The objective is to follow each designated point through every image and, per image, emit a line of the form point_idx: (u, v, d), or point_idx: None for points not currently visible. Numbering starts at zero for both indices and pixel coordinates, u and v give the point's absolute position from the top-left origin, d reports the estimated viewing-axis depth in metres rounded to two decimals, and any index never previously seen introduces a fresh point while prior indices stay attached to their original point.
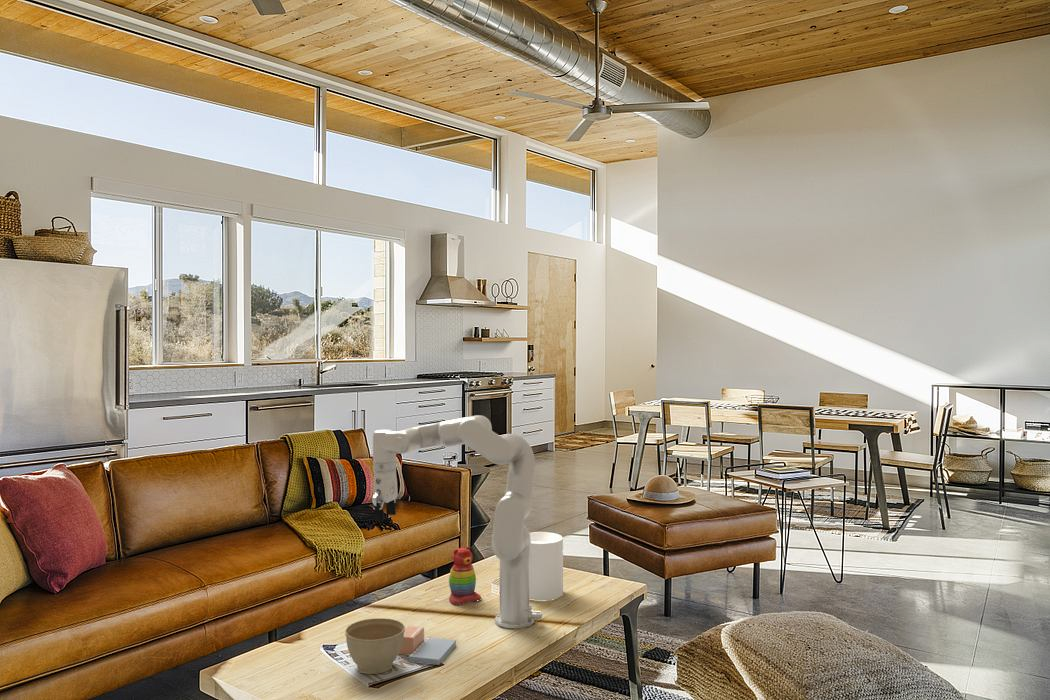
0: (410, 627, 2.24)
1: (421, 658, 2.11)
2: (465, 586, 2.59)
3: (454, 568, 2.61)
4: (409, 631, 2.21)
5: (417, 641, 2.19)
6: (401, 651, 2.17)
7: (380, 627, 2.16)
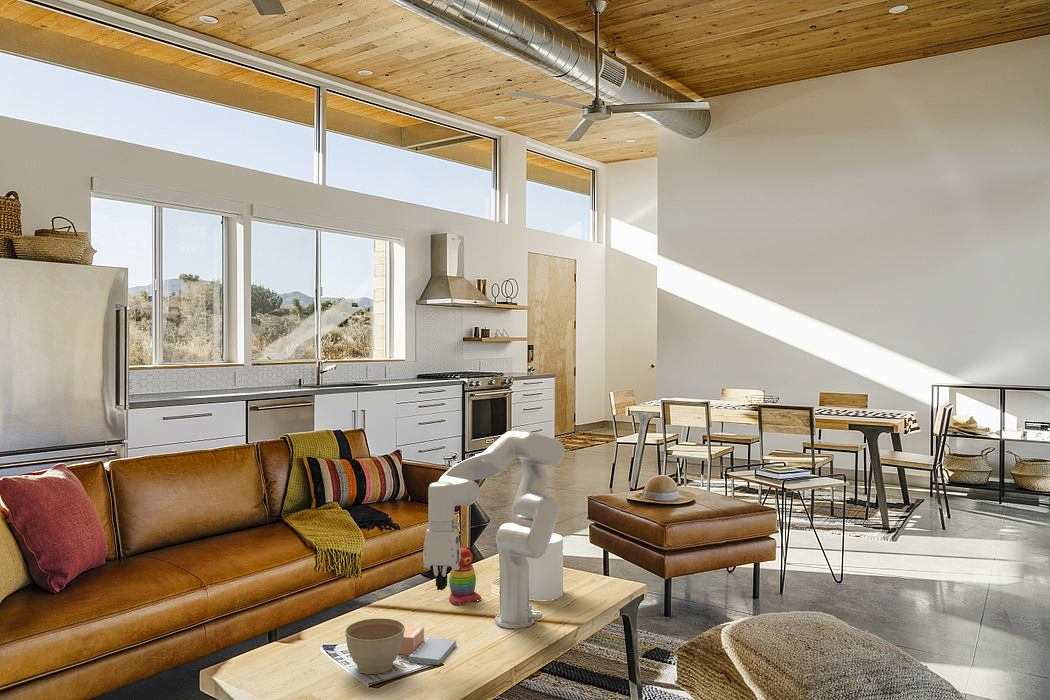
0: (410, 627, 2.24)
1: (421, 658, 2.11)
2: (465, 586, 2.59)
3: None
4: (409, 631, 2.21)
5: (417, 641, 2.19)
6: (401, 651, 2.17)
7: (380, 627, 2.16)
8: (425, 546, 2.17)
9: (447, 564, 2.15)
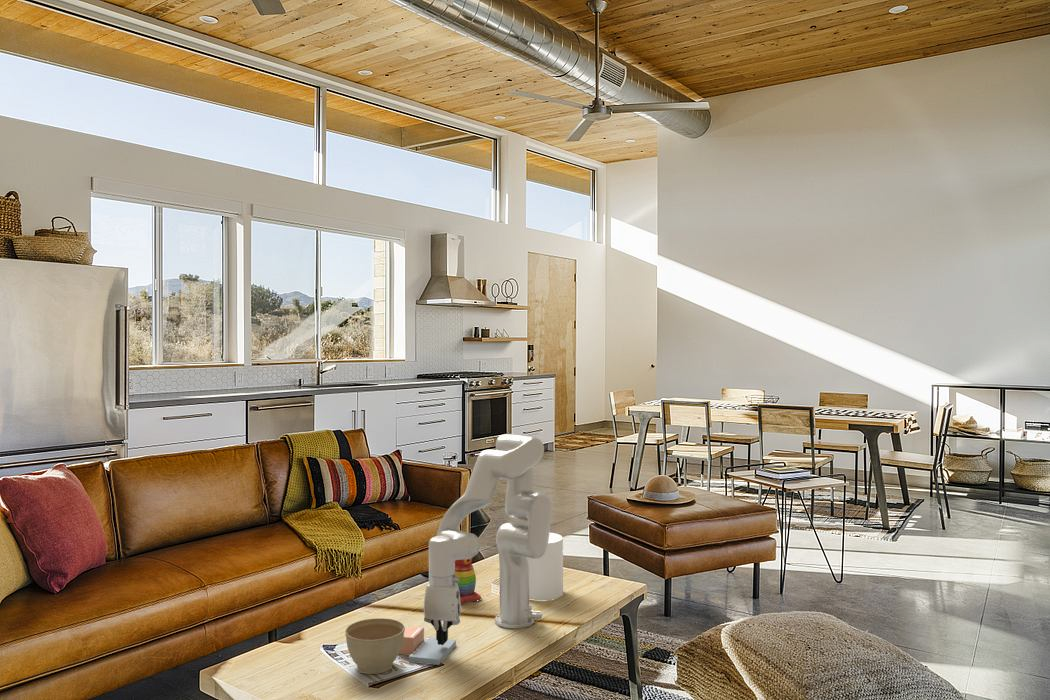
0: (410, 627, 2.24)
1: (421, 658, 2.11)
2: (465, 586, 2.59)
3: None
4: (409, 631, 2.21)
5: (417, 641, 2.19)
6: (401, 651, 2.17)
7: (380, 627, 2.16)
8: (425, 601, 2.17)
9: (447, 619, 2.15)
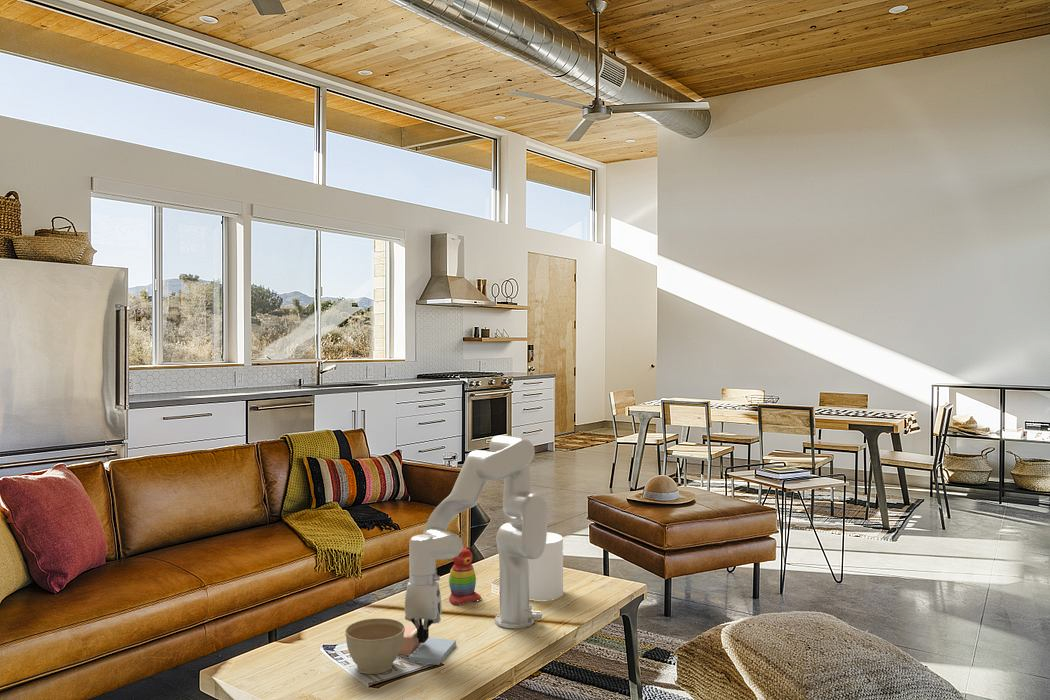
0: (408, 627, 2.24)
1: (421, 658, 2.11)
2: (465, 586, 2.59)
3: (454, 568, 2.61)
4: (406, 630, 2.21)
5: (415, 641, 2.19)
6: None
7: (380, 627, 2.16)
8: (406, 599, 2.18)
9: (428, 617, 2.17)
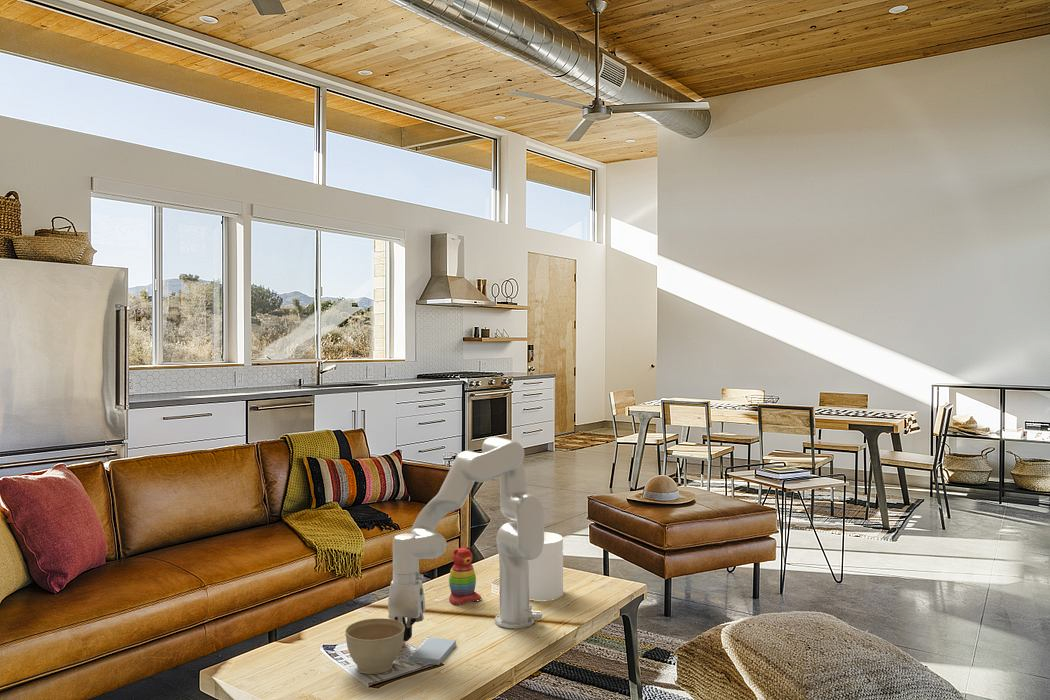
0: None
1: (421, 658, 2.11)
2: (465, 586, 2.59)
3: (454, 568, 2.61)
4: None
5: None
6: None
7: (380, 627, 2.16)
8: (390, 598, 2.20)
9: (411, 616, 2.18)
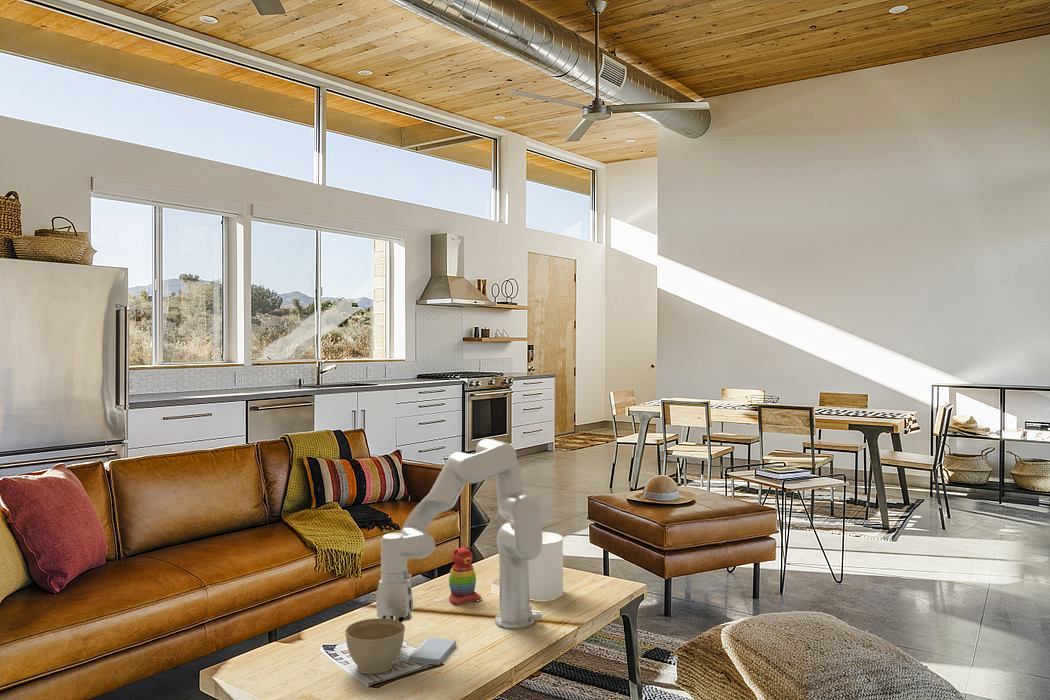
0: None
1: (421, 658, 2.11)
2: (465, 586, 2.59)
3: (454, 568, 2.61)
4: None
5: None
6: None
7: (380, 627, 2.16)
8: (378, 597, 2.21)
9: (399, 615, 2.19)
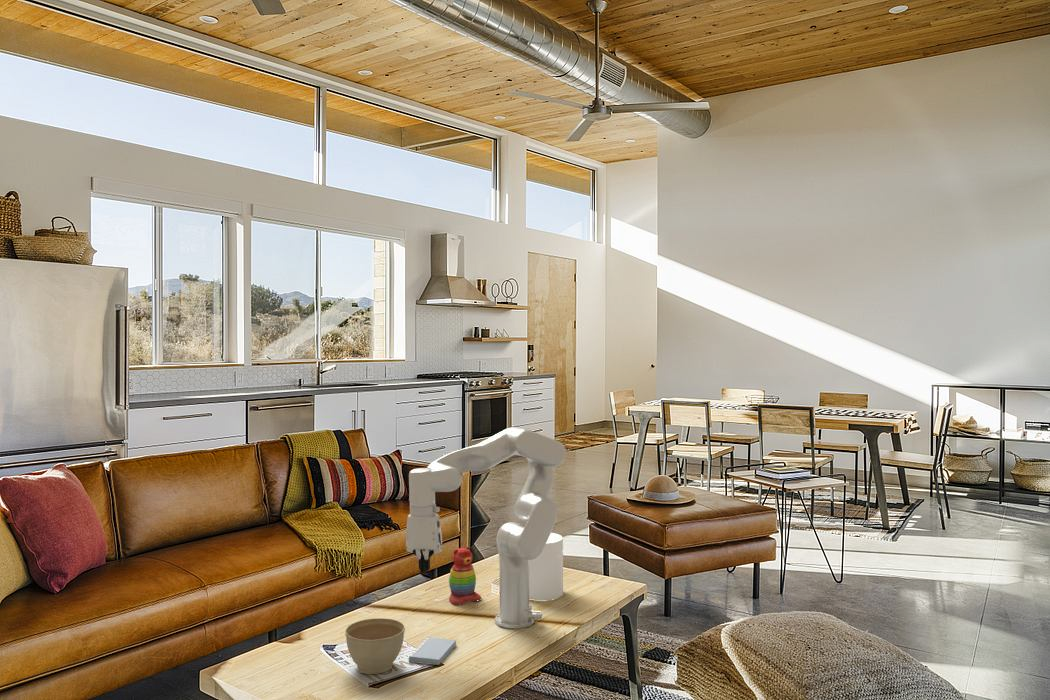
0: None
1: (421, 658, 2.11)
2: (465, 586, 2.59)
3: (454, 568, 2.61)
4: None
5: None
6: None
7: (380, 627, 2.16)
8: (407, 531, 2.23)
9: (429, 548, 2.22)
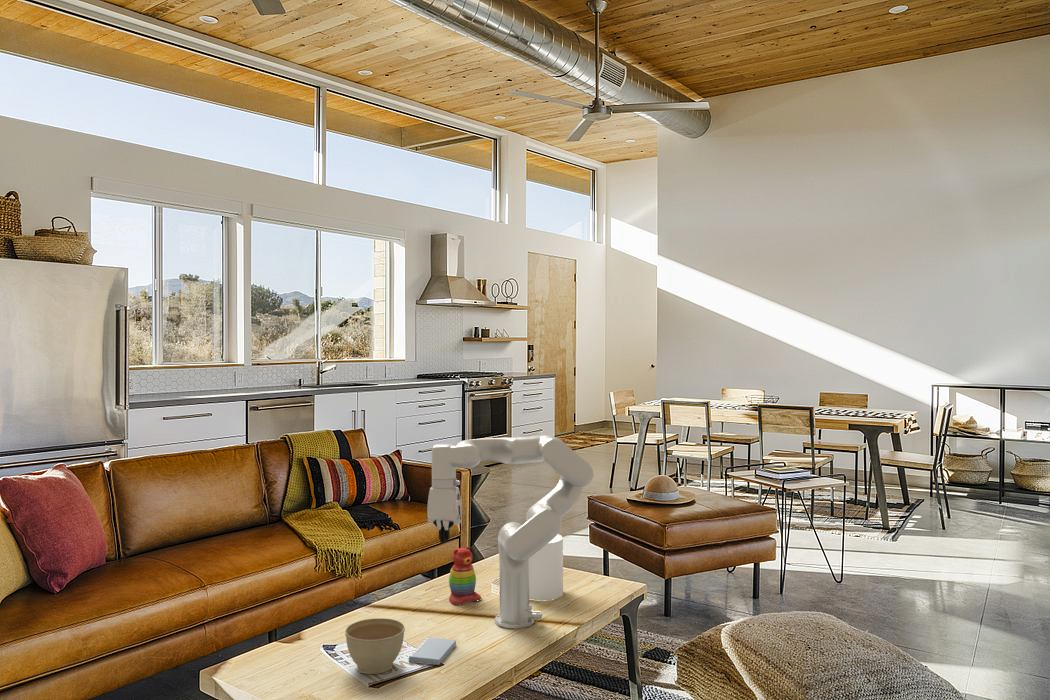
0: None
1: (421, 658, 2.11)
2: (465, 586, 2.59)
3: (454, 568, 2.61)
4: None
5: None
6: None
7: (380, 627, 2.16)
8: (429, 502, 2.36)
9: (449, 519, 2.34)
